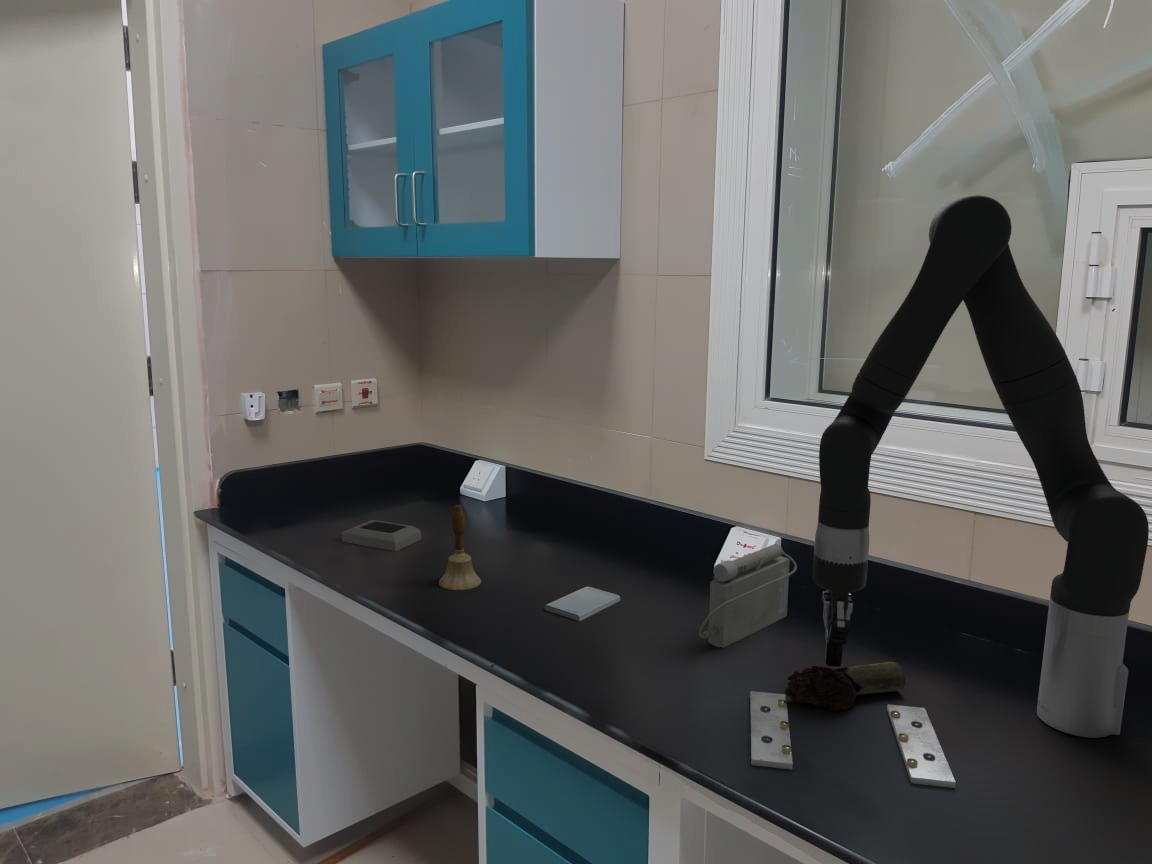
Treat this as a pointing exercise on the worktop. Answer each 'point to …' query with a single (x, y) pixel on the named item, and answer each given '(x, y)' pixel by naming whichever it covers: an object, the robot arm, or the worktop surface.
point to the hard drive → (582, 603)
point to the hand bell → (459, 559)
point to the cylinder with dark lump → (843, 684)
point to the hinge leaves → (907, 723)
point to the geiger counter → (747, 595)
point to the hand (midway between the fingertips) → (832, 663)
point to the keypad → (382, 535)
